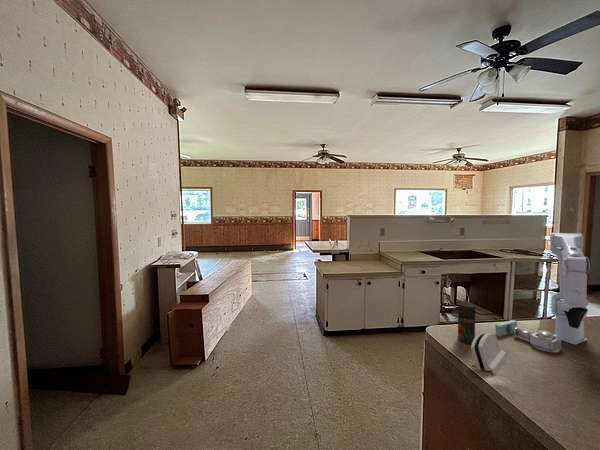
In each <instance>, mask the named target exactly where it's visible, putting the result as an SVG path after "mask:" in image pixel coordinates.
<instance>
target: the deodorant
mask: <svg viewBox="0 0 600 450" xmlns="http://www.w3.org/2000/svg"><path fill="white" fill-rule="evenodd" d="M475 337H476V305H475V304H474V303H471V302H468V301H467V302H465V301H460V302H458V303H457V341H458V342H459V343H461V344H464V345H468V346H469V345H472V342H473V340H474V338H475Z"/></svg>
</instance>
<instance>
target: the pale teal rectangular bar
mask: <svg viewBox="0 0 600 450" xmlns="http://www.w3.org/2000/svg"><path fill="white" fill-rule="evenodd" d="M514 328H518V321H517V320H514V319H511V320H507V321H504V322H501V323H497V324H495V336H496V337H499V336H500V337H503V336H506V334H507V335H509V334H513V331H514ZM502 335H503V336H502Z"/></svg>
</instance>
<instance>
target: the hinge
mask: <svg viewBox="0 0 600 450" xmlns="http://www.w3.org/2000/svg"><path fill="white" fill-rule="evenodd" d="M470 351H471V354H472V357H473V361H474V363H475V367H476V370H478V371H482V370H484V371H486V372H488V371H491V372H492V375H493V376H496V375H497V374H498V373H499V371H500V370H501V368H502V367H503V365H504V364H505V363H506V361H507V360H508V359H509V357H508V354H507V352H506V351H504V350H503V349H502V347H501V346H500V343H499V341H498V338H497V335H496V334H495V333H494V334H493V333H480V334H477V335H475V338H474V340H473V342H472V345H471V346H470Z"/></svg>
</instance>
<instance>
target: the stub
mask: <svg viewBox="0 0 600 450" xmlns="http://www.w3.org/2000/svg"><path fill="white" fill-rule="evenodd" d="M537 332H538V334H539V337H541V338H544V339H547V340H553V337H554V334H555V333H552V332H550V331H546V330H538V331H537ZM531 346H532V347H533V348H535V349H537V350H540V351H542V352H547V353H554V354H555V353H560V351H561V348H559V349H557V350H554V351H551V350H547V349H544V348H541V347H538V346H536V345H533V344H532V343H531Z"/></svg>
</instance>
